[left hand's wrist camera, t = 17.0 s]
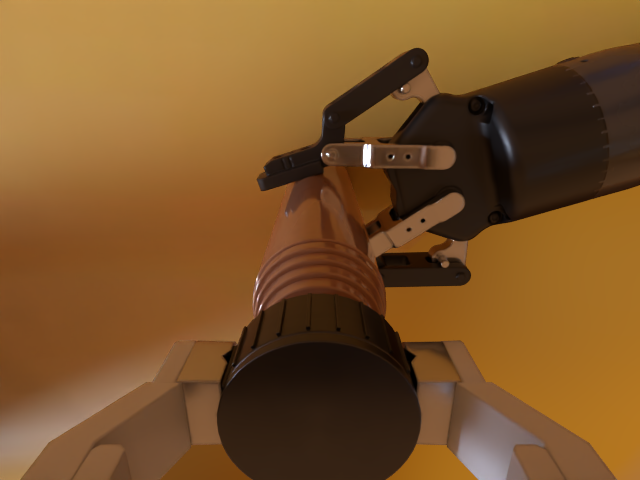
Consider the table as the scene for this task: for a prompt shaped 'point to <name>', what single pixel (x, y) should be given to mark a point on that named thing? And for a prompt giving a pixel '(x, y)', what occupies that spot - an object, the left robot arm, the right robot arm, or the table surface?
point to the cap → (318, 394)
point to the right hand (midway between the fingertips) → (276, 222)
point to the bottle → (320, 246)
